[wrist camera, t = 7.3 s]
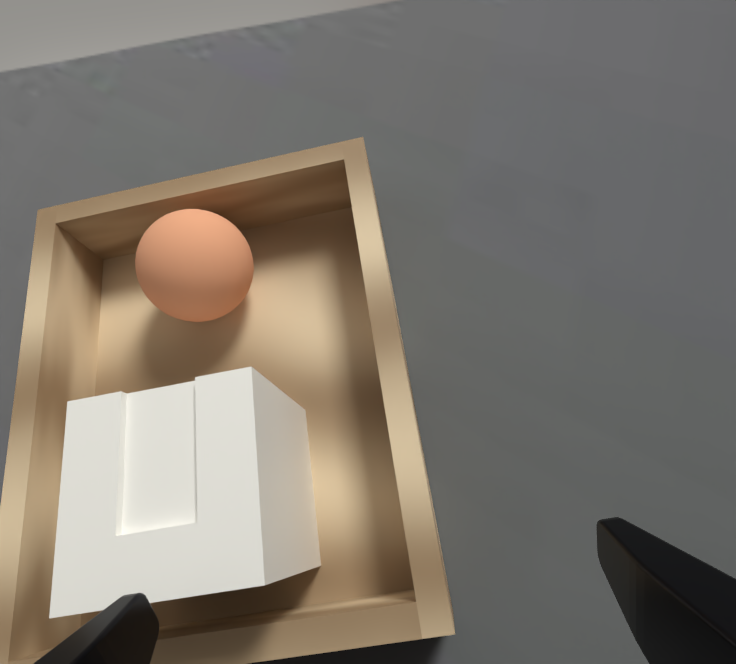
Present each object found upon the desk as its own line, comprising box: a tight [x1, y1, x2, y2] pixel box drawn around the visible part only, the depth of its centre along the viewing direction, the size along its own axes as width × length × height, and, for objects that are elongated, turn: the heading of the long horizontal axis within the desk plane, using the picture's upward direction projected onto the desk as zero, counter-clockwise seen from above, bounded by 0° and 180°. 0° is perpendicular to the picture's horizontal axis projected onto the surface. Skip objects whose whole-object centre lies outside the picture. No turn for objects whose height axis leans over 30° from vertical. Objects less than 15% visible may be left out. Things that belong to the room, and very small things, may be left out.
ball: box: [135, 209, 254, 322], centre depth 18 cm, size 4×4×4 cm
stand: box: [49, 367, 321, 618], centre depth 14 cm, size 5×5×6 cm
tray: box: [0, 137, 455, 664], centre depth 17 cm, size 16×13×3 cm
